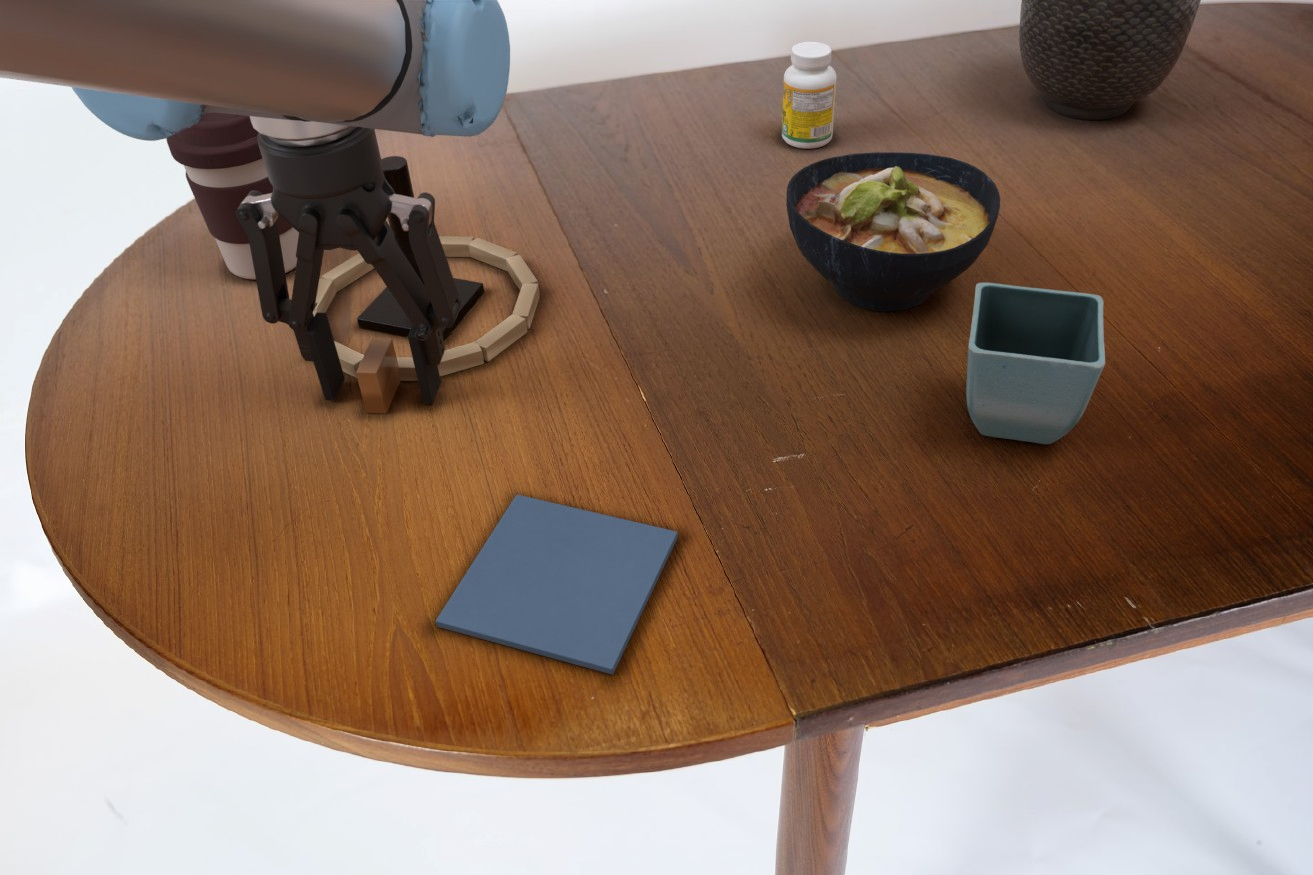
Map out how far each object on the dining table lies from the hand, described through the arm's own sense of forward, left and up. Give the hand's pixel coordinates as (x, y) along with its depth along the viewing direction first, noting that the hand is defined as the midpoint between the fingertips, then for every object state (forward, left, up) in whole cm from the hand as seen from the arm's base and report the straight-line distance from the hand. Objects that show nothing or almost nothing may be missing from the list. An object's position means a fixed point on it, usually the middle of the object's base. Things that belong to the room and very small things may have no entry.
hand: (383, 390), depth 89 cm
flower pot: (+11, -47, 0) cm, 49 cm away
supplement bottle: (+51, -21, 0) cm, 55 cm away
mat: (-14, -21, 0) cm, 25 cm away
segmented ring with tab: (+9, +2, 0) cm, 10 cm away
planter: (+67, -48, 0) cm, 83 cm away
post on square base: (+11, +3, 0) cm, 12 cm away
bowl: (+26, -34, 0) cm, 43 cm away
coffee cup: (+14, +21, 0) cm, 25 cm away
